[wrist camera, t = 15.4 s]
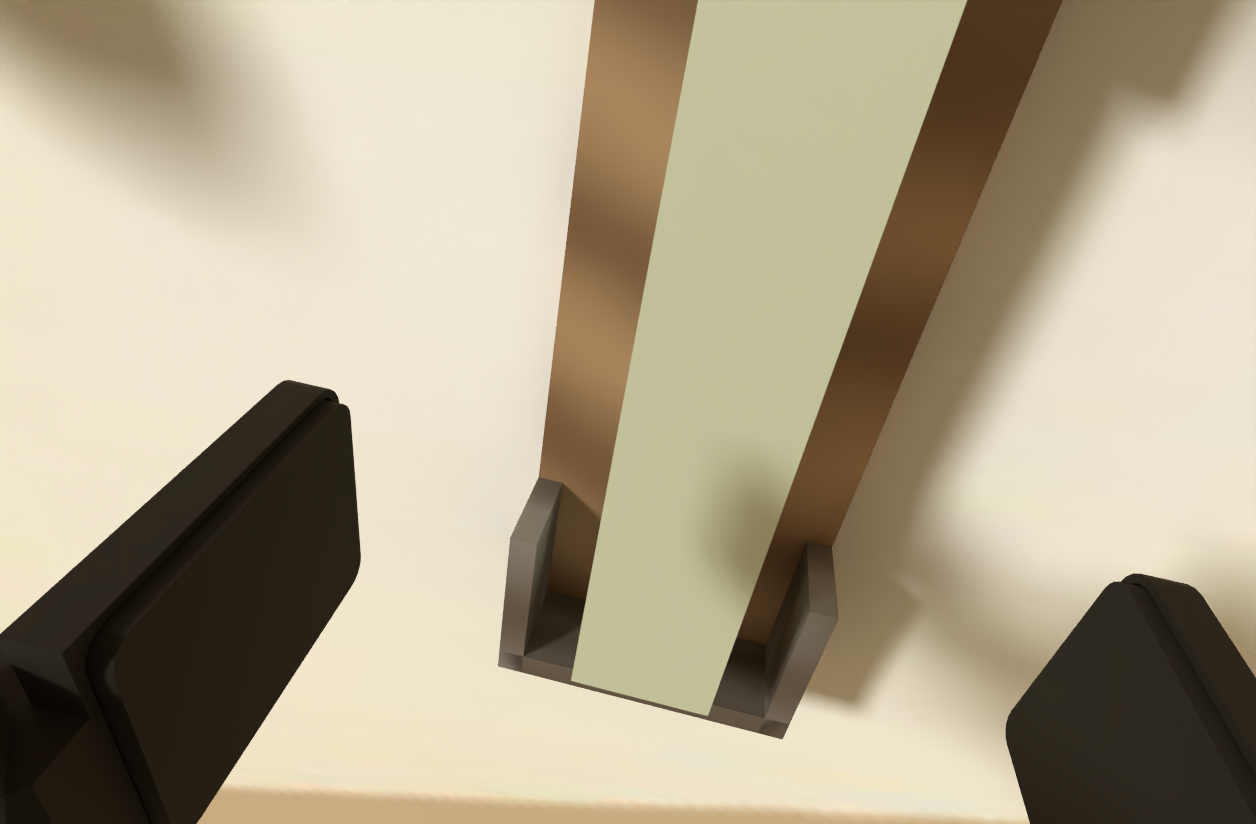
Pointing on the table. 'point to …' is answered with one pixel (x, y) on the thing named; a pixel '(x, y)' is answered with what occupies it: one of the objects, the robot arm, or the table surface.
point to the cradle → (857, 390)
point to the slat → (746, 315)
